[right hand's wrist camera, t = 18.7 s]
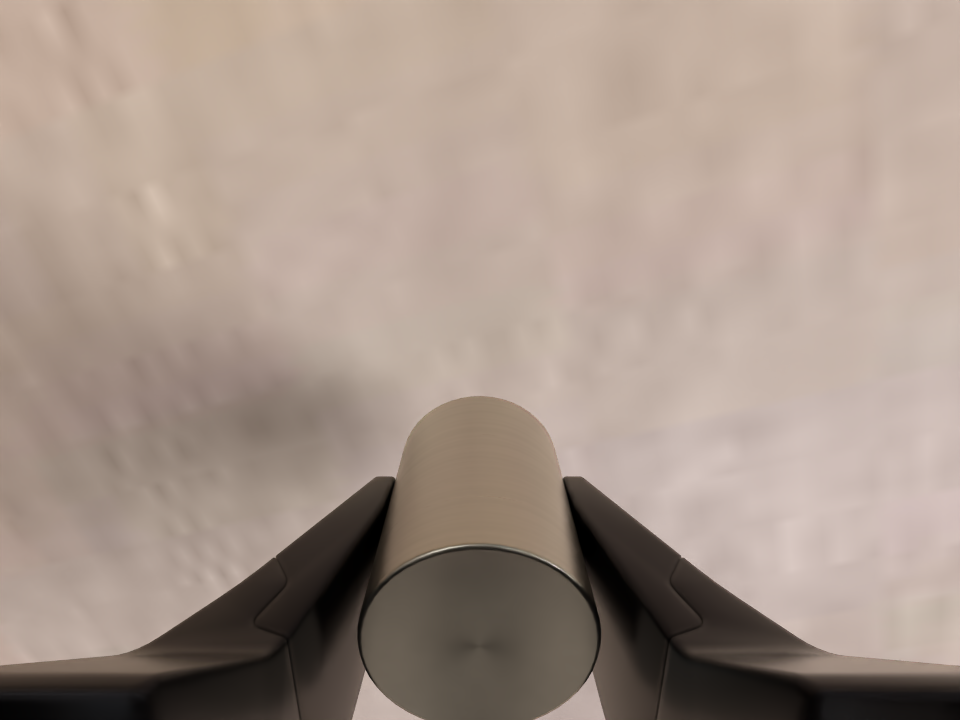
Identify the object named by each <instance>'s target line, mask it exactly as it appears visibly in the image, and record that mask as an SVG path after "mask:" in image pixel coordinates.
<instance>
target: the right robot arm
mask: <svg viewBox="0 0 960 720" xmlns="http://www.w3.org/2000/svg"><path fill="white" fill-rule="evenodd" d="M395 481H396V480H395V478H394V477H375V478H374V479H373V480H371V481H370V482H369V483H368V484H366V485H365V486H364V487H363V488H361V489H360V490H359V491H357V492H356V493H355V494H354V495H352V496H351V497H350V498H349V499H347V500H346V501H345V502H344V503H342V504H341V505H340V506H338V507H337V508H336V509H335V510H333V511H332V512H331V513H330V514H328V515H327V516H326V517H325V518H323V519H322V520H321V521H319V522H318V523H317V524H316V525H314V526H313V527H312V528H311V529H309V530H308V531H307V532H306V533H304V534H303V535H302V536H301V537H299V538H298V539H297V540H295V541H294V542H293V543H292V544H290V545H289V546H288V547H287V548H285V549H284V550H283V551H282V552H280V553H279V554H278V555H277V556H276V558H272V559H271V560H270V561H269V562H267V563H266V564H265V565H264V566H262V567H261V568H260V569H258V570H257V571H256V572H254V573H253V574H252V575H250V576H249V577H248V578H246V579H245V580H244V581H242V582H241V583H240V584H238V585H237V586H235V587H234V588H232V589H231V590H230V591H228V592H227V593H225V594H224V595H222V596H221V597H219V598H218V599H216V600H215V601H213V602H212V603H210V604H209V605H207V606H206V607H204V608H203V609H201V610H200V611H198V612H197V613H195V614H194V615H192V616H191V617H189V618H188V619H186V620H184V621H183V622H181V623H180V624H178V625H177V626H175V627H174V628H172V629H171V630H169V631H168V632H166V633H165V634H163V635H162V636H160V637H159V638H157V639H155V640H154V641H152V642H150V643H149V644H147V645H145V646H142V647H140V648H138V649H136V650H133V651H130V652H127V653H124V654H120V655H114V656H104V657H93V658H81V659H70V660H58V661H47V662H36V663H24V664H13V665H1V666H0V720H352V717H353V713H354V710H355V706H356V702H357V699H358V695H359V691H360V688H361V684H362V680H363V676H364V673H365V667H364V665H363V662H362V659H361V656H360V653H359V648H358V641H357V626H358V621H359V616H360V612H361V608H362V604H363V601H364V597H365V593H366V589H367V586H368V582H369V578H370V574H371V571H372V567H373V563H374V559H375V556H376V552H377V548H378V544H379V541H380V537H381V533H382V529H383V526H384V522H385V518H386V514H387V511H388V507H389V503H390V500H391V496H392V492H393V488H394V485H395ZM563 482H564V486H565V490H566V493H567V497H568V501H569V505H570V508H571V512H572V516H573V520H574V524H575V527H576V531H577V535H578V539H579V542H580V546H581V550H582V554H583V558H584V561H585V565H586V569H587V573H588V576H589V580H590V584H591V588H592V592H593V595H594V599H595V603H596V607H597V610H598V614H599V618H600V624H601V645H600V650H599V654H598V658H597V661H596V663H595V666H594V668H593V675H594V678H595V682H596V686H597V690H598V693H599V697H600V701H601V705H602V708H603V712H604V716H605V720H960V666H954V665H942V664H931V663H920V662H909V661H897V660H886V659H875V658H863V657H852V656H842V655H837V654H833V653H829V652H826V651H823V650H821V649H818V648H816V647H814V646H812V645H810V644H808V643H806V642H804V641H803V640H801V639H799V638H798V637H796V636H795V635H793V634H792V633H790V632H789V631H787V630H786V629H784V628H783V627H781V626H780V625H778V624H777V623H775V622H774V621H772V620H771V619H769V618H767V617H766V616H764V615H763V614H761V613H760V612H758V611H757V610H755V609H754V608H752V607H751V606H749V605H748V604H746V603H745V602H743V601H742V600H740V599H739V598H737V597H736V596H735V595H733V594H732V593H730V592H729V591H727V590H726V589H724V588H723V587H721V586H720V585H719V584H717V583H716V582H714V581H713V580H712V579H710V578H709V577H708V576H707V575H705V574H704V573H703V572H701V571H700V570H699V569H697V568H696V567H695V566H693V565H692V564H691V563H690V562H688V561H687V560H686V559H685V558H681V555H679V554H678V553H677V552H676V551H674V550H673V549H672V548H671V547H669V546H668V545H667V544H666V543H664V542H663V541H662V540H661V539H659V538H658V537H657V536H656V535H654V534H653V533H652V532H651V531H649V530H648V529H647V528H646V527H644V526H643V525H642V524H641V523H639V522H638V521H637V520H635V519H634V518H633V517H632V516H630V515H629V514H628V513H627V512H625V511H624V510H623V509H622V508H620V507H619V506H618V505H617V504H615V503H614V502H613V501H612V500H610V499H609V498H608V497H607V496H605V495H604V494H603V493H602V492H600V491H599V490H598V489H597V488H595V487H594V486H593V485H592V484H590V483H589V482H588V481H587V480H585V479H584V478H582V477H564V478H563Z"/></svg>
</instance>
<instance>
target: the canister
mask: <svg viewBox="0 0 960 720" xmlns="http://www.w3.org/2000/svg"><path fill="white" fill-rule="evenodd" d="M357 641H358V648H359V653H360V656H361V659H362V662H363V665H364V667H365V669H366V671H367V673H368V675H369V677H370V678H371V680H372V681H373V682H374V684H375V685H376V687H377V688H378V689H379V690H380V691H381V692H382V693H383V694H384V695H385V696H386V697H387V698H389V699H390V700H391V701H392V702H393V703H395V704H396V705H398V706H399V707H401V708H402V709H404V710H405V711H407V712H409V713H411V714H413V715H415V716H417V717H419V718H422V719H424V720H534V719H537V718H539V717H541V716H543V715H546V714H548V713H549V712H551V711H553V710H555V709H556V708H558V707H559V706H561V705H562V704H564V703H565V702H566V701H568V700H569V699H570V698H571V697H572V696H573V695H574V694H575V693H576V692H578V690H579V689H580V688H581V687H582V686H583V684H584V683H585V682H586V681H587V679H588V677H589V676H590V674H591V672H592V671H593V668H594V666H595V663H596V661H597V658H598V654H599V650H600V645H601V624H600V618H599V614H598V610H597V607H596V603H595V599H594V595H593V592H592V588H591V584H590V580H589V576H588V573H587V569H586V565H585V561H584V558H583V554H582V550H581V546H580V542H579V539H578V535H577V531H576V527H575V524H574V520H573V516H572V512H571V508H570V505H569V501H568V497H567V493H566V490H565V486H564V482H563V478H562V475H561V471H560V467H559V463H558V459H557V456H556V452H555V448H554V445H553V442H552V440H551V438H550V436H549V434H548V432H547V431H546V429H545V428H544V426H543V425H542V424H541V423H540V422H539V420H538V419H537V418H535V417H534V416H533V415H532V414H531V413H530V412H528V411H527V410H525V409H524V408H522V407H520V406H518V405H516V404H514V403H512V402H509V401H506V400H503V399H498V398H494V397H485V396H474V397H466V398H460V399H456V400H453V401H450V402H447V403H445V404H443V405H440V406H439V407H437V408H435V409H434V410H432V411H431V412H429V413H428V414H427V415H425V416H424V417H423V418H422V419H421V420H420V421H419V422H418V423H417V425H416V426H415V427H414V429H413V430H412V432H411V433H410V435H409V437H408V439H407V442H406V444H405V447H404V451H403V455H402V458H401V462H400V466H399V470H398V473H397V477H396V481H395V485H394V488H393V492H392V496H391V500H390V503H389V507H388V511H387V514H386V518H385V522H384V526H383V529H382V533H381V537H380V541H379V544H378V548H377V552H376V556H375V559H374V563H373V567H372V571H371V574H370V578H369V582H368V586H367V589H366V593H365V597H364V601H363V604H362V608H361V612H360V616H359V621H358V626H357Z"/></svg>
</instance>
